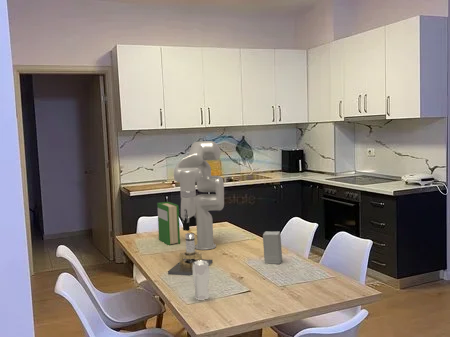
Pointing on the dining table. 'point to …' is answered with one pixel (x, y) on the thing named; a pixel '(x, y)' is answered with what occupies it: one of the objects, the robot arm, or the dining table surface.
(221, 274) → the dining table surface
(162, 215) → the hardback book
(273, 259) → the skincare box
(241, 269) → the dining table surface
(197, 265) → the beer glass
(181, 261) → the collar stand
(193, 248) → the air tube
